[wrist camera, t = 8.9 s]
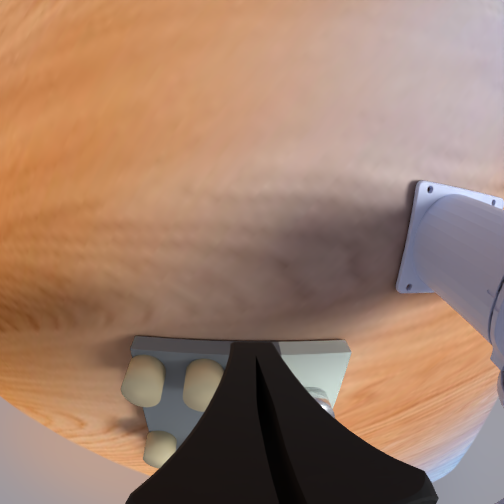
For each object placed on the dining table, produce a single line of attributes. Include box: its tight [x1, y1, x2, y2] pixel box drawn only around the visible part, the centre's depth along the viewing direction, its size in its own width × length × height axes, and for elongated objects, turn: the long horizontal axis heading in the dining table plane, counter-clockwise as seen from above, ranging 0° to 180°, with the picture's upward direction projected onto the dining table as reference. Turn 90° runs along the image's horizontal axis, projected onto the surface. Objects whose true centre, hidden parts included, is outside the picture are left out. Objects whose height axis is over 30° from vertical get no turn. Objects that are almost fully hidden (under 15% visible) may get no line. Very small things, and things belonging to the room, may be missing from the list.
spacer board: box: [121, 336, 351, 468], centre depth 22 cm, size 15×15×4 cm
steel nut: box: [304, 387, 335, 418], centre depth 21 cm, size 4×4×2 cm
